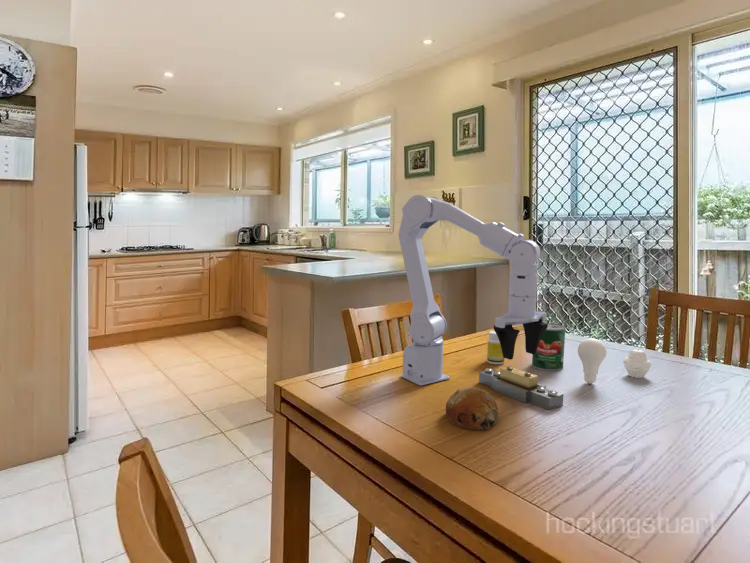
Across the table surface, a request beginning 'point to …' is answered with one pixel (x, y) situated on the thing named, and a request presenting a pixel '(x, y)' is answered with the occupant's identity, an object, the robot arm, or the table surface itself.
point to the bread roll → (472, 409)
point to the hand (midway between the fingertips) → (519, 355)
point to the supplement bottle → (494, 349)
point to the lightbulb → (591, 357)
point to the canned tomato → (550, 349)
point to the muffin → (637, 364)
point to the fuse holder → (522, 391)
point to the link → (519, 378)
